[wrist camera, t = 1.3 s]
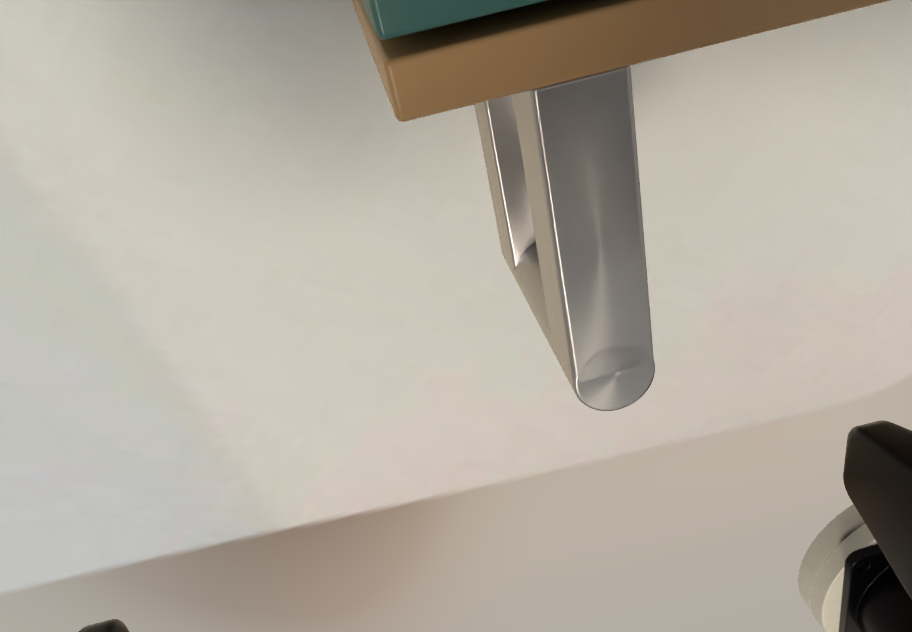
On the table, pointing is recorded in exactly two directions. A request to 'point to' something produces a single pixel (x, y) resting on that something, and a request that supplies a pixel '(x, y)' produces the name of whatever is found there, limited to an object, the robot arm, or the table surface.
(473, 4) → the green cabinet
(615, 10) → the wooden cabinet door
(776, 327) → the table surface
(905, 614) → the robot arm
